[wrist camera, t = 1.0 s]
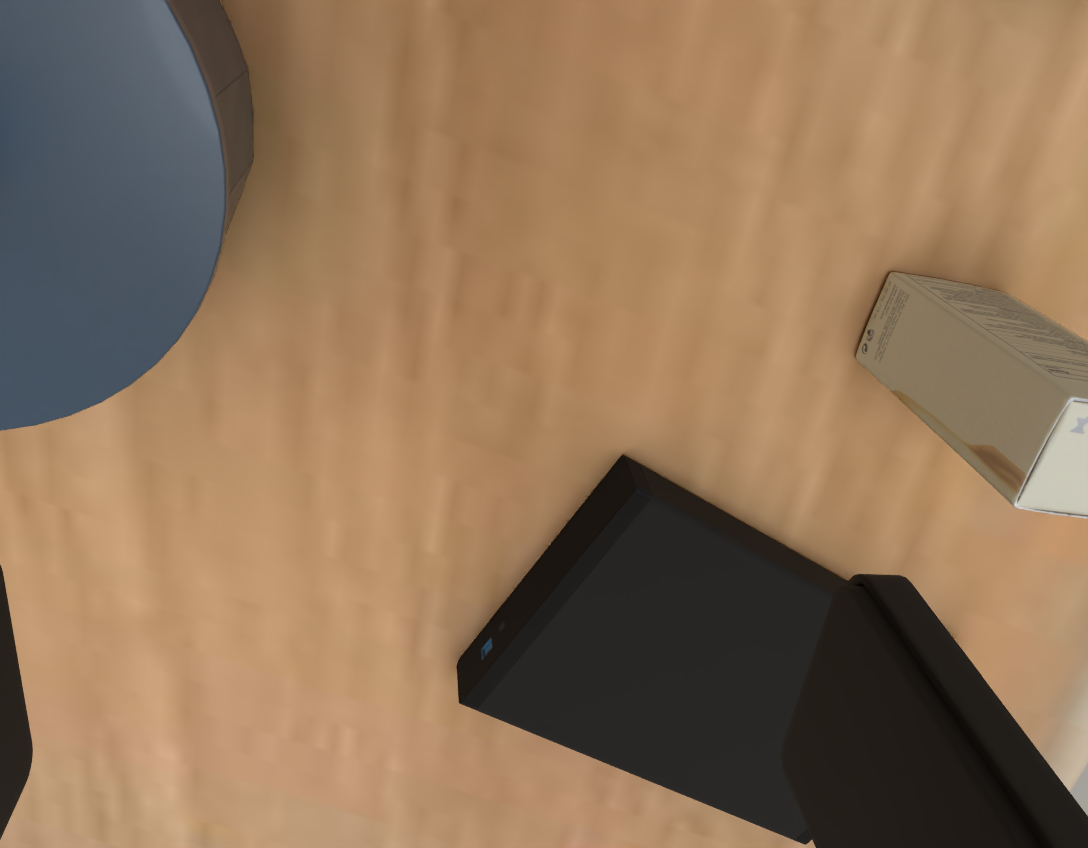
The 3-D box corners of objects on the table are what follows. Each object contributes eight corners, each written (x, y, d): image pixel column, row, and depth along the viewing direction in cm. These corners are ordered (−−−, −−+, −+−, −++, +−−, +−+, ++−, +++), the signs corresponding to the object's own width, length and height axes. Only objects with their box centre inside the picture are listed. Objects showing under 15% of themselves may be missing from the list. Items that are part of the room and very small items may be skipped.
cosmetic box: (849, 358, 41) (1001, 510, 31) (887, 266, 39) (1063, 394, 29) (975, 380, 43) (1162, 533, 32) (1017, 292, 41) (1231, 423, 30)
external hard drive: (785, 802, 55) (803, 846, 52) (455, 661, 47) (457, 705, 44) (955, 641, 50) (985, 680, 48) (622, 452, 42) (636, 487, 39)
